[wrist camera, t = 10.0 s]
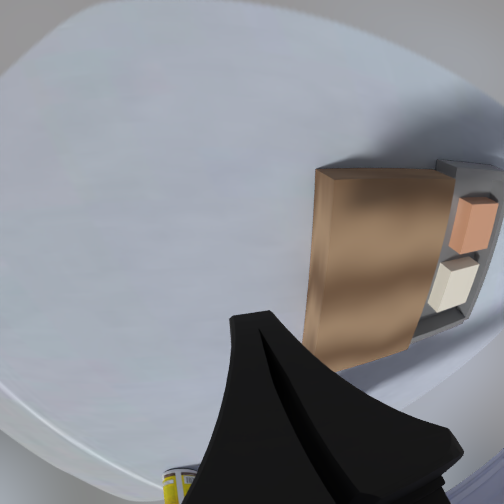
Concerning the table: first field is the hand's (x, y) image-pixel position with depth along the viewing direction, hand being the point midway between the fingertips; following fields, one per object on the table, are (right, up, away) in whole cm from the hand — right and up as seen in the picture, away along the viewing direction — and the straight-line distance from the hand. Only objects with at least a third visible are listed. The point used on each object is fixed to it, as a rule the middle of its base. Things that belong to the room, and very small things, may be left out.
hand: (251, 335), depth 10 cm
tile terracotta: (+20, +5, +11) cm, 23 cm away
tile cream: (+19, -1, +14) cm, 24 cm away
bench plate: (+9, +1, +12) cm, 15 cm away
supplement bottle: (-10, -28, +24) cm, 38 cm away
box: (+18, +3, +14) cm, 23 cm away
